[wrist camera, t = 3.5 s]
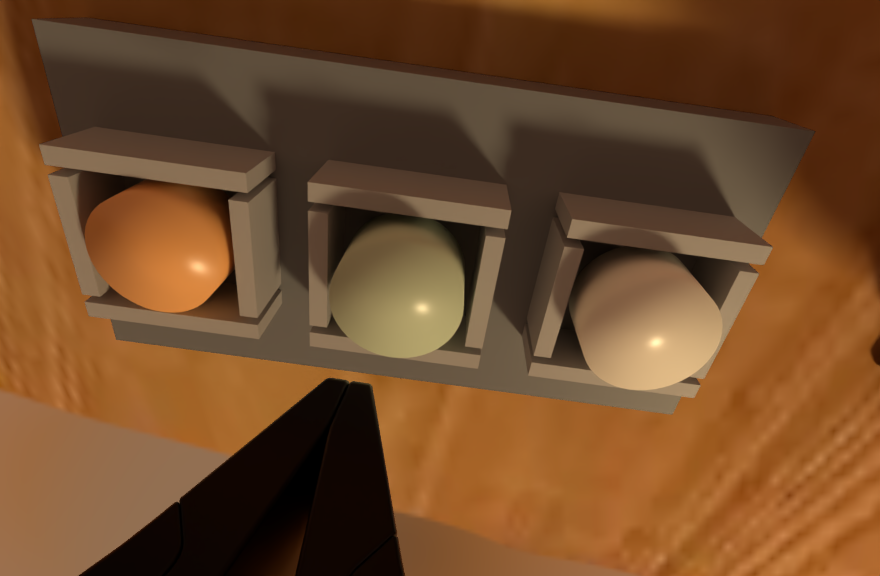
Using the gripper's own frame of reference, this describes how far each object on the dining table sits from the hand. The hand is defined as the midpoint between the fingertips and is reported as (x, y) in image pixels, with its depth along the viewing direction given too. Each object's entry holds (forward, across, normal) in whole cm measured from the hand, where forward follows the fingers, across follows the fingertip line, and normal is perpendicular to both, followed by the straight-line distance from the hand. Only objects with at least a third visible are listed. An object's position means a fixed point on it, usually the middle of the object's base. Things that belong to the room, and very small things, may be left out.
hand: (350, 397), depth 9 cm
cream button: (+6, -7, 0) cm, 9 cm away
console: (+8, 0, 0) cm, 9 cm away
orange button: (+6, +6, 0) cm, 9 cm away
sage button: (+6, 0, 0) cm, 6 cm away
